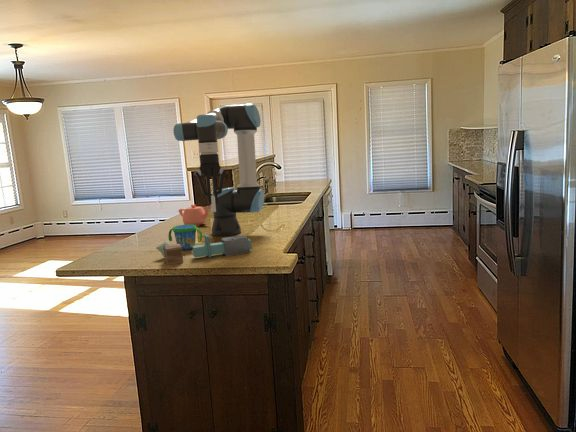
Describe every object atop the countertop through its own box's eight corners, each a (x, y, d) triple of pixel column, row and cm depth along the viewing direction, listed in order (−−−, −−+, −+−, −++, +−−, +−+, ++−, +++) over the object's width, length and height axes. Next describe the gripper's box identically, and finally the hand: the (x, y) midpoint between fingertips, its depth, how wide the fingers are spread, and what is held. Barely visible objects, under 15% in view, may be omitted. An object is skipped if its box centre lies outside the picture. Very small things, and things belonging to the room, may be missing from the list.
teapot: (208, 227, 261) (206, 205, 259) (175, 227, 265) (173, 207, 263) (216, 222, 274) (214, 202, 272) (184, 223, 277) (182, 203, 276)
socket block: (166, 260, 189) (164, 245, 188) (180, 258, 191) (179, 243, 190) (167, 264, 182) (166, 248, 181) (183, 262, 184) (181, 246, 183)
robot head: (156, 259, 193) (154, 243, 191) (159, 256, 197) (158, 241, 195) (174, 258, 192) (172, 242, 190) (177, 256, 196) (176, 240, 194)
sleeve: (222, 252, 196) (221, 238, 195) (245, 249, 200) (244, 235, 199) (226, 256, 190) (224, 241, 189) (249, 252, 194) (248, 237, 192)
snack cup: (207, 245, 212) (205, 224, 210) (196, 251, 202) (194, 228, 200) (177, 245, 217) (175, 224, 215) (165, 250, 207) (162, 228, 205)
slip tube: (193, 256, 192) (191, 236, 190) (248, 248, 200) (247, 229, 198) (195, 259, 186) (193, 238, 185) (252, 251, 194) (251, 231, 193)
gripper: (194, 154, 180) (199, 214, 184) (226, 152, 184) (231, 210, 188) (191, 154, 187) (196, 212, 190) (222, 152, 191) (227, 208, 195)
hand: (213, 211), depth 189 cm, fingers closed
